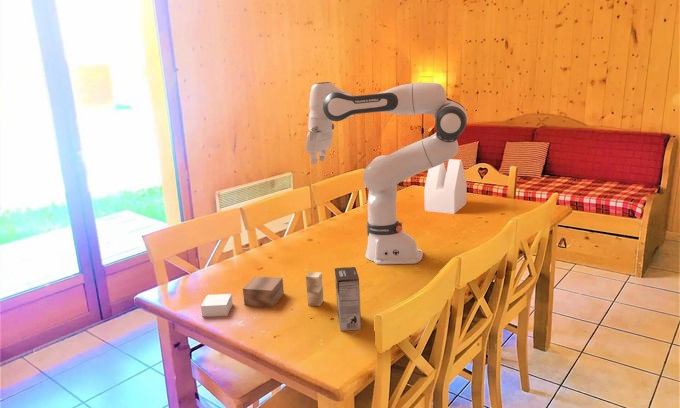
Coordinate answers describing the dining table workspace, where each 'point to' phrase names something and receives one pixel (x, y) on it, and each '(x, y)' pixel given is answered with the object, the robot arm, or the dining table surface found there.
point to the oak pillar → (314, 288)
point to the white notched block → (445, 188)
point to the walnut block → (263, 291)
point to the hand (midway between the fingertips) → (318, 162)
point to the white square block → (217, 305)
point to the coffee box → (348, 298)
